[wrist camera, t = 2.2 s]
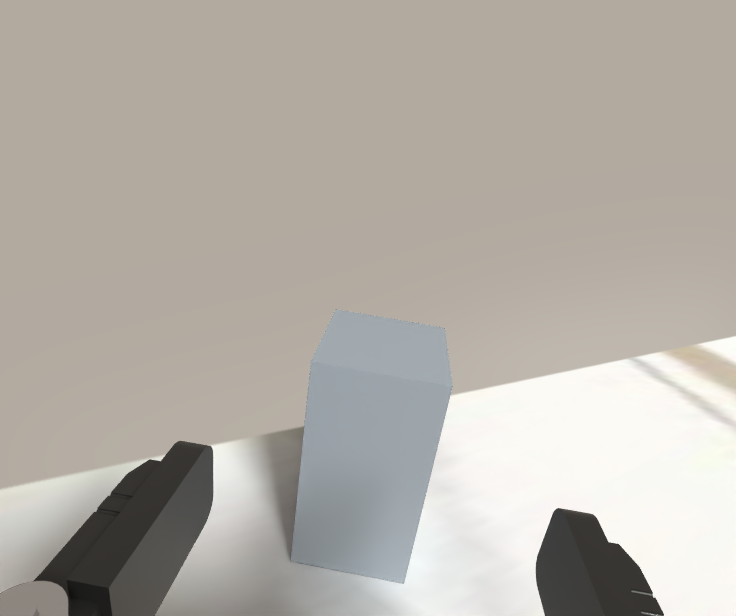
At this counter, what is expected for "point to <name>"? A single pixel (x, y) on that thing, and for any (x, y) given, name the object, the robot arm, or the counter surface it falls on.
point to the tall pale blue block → (369, 443)
